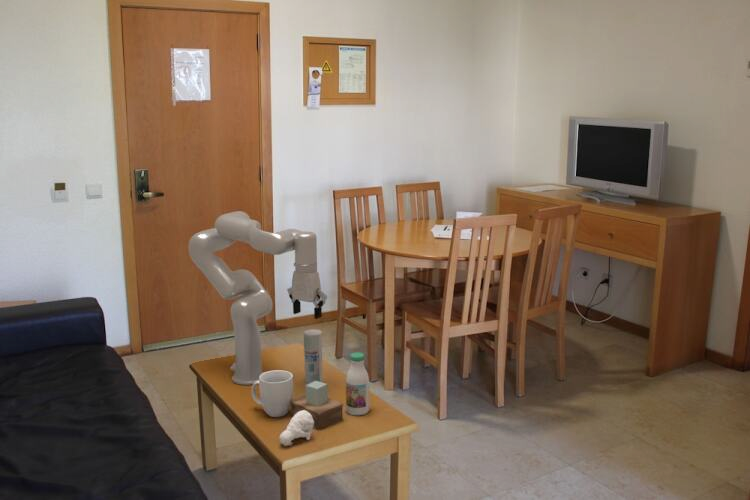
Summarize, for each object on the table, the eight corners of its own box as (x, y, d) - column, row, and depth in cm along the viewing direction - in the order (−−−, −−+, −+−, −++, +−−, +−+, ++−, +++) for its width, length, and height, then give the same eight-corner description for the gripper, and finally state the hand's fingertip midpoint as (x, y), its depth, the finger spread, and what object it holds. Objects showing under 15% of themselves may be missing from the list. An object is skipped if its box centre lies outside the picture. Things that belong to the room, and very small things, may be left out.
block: (306, 402, 236) (305, 385, 234) (316, 397, 240) (315, 380, 238) (317, 406, 233) (317, 388, 231) (327, 401, 237) (327, 383, 235)
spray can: (302, 386, 263) (300, 334, 259) (308, 380, 269) (307, 328, 265) (319, 388, 261) (318, 335, 257) (325, 381, 267) (324, 330, 263)
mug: (244, 415, 240) (242, 378, 237) (261, 402, 250) (259, 366, 247) (284, 422, 234) (282, 384, 232) (299, 409, 244) (298, 372, 241)
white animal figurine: (315, 411, 222) (286, 428, 214) (317, 435, 225) (289, 453, 216) (300, 405, 226) (272, 421, 218) (303, 429, 229) (275, 446, 220)
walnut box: (290, 417, 239) (290, 400, 237) (314, 408, 246) (314, 391, 245) (319, 431, 229) (318, 413, 227) (343, 421, 236) (343, 403, 235)
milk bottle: (353, 404, 247) (352, 349, 243) (373, 408, 244) (372, 352, 240) (342, 413, 241) (341, 356, 236) (362, 417, 237) (362, 360, 233)
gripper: (280, 266, 251) (281, 313, 255) (318, 273, 241) (319, 322, 245) (294, 262, 257) (296, 308, 261) (332, 269, 247) (333, 317, 251)
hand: (307, 315), depth 253 cm, fingers open, 9 cm apart
